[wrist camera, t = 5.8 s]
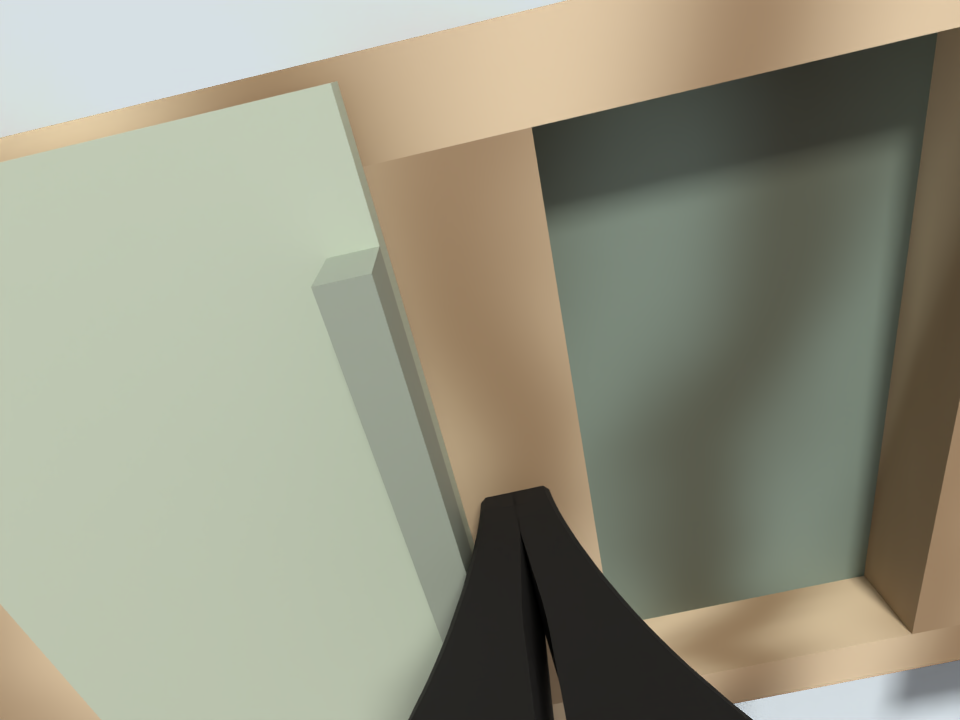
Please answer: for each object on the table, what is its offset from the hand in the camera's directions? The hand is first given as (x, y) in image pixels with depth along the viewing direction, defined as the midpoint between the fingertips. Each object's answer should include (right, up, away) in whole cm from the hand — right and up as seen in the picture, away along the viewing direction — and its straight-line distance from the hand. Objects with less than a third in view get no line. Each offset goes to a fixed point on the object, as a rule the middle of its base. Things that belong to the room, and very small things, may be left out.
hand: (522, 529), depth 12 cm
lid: (-6, -1, 0) cm, 6 cm away
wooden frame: (-2, +1, +3) cm, 4 cm away
